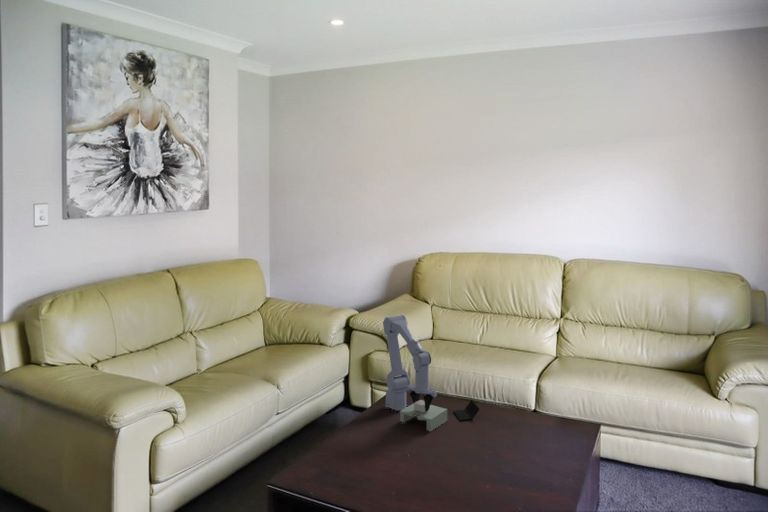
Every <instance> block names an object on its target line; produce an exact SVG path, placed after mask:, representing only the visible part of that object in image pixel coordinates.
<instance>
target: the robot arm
mask: <svg viewBox="0 0 768 512" xmlns="http://www.w3.org/2000/svg"><path fill="white" fill-rule="evenodd" d="M382 325H383V327H382V328H383V332H384V335H385V336H386V342H387V348H388V353H389V354H388V355H389V361H390V369H391V370H390V372H389V373H388V374H387V375H386V380H387V381H386V386H387V390H386V393H385V407H390V408H392V409H395V410H403V409H404V408H406V406H407V391H408V392H409V391H410V393H409V395H410V397H411V400H412V403H413V404H414V403H415V402H417V401H419V400H420V397H421V395H422V394H423V395H424V396H423V397H422V398H423V401H425V411H428V410H429V408H430V405H432V404H431V403H432V401H433V399H434V398H437V397H438V391H435V390H432V389H431V388H429V367H430V365H431V364H432V355H431V354H430V352H429V351H427V350H425V349H424V348H423V347H422V345H421V343H420V342H419V340H418V339H414V336H413V334H412V333H411V331H410V330H409V328H408V320H407V318H406V316H405V315H404V314H401V315H396V316H386V317H384V319H383V321H382ZM399 335H401V337H402V338H403V340H404V342H406V348H407V350H408V351H409V353H410V355H411V357H412V363H413V366H414V367H413V368H414V371H415V385H411V379H410V377H409V374H408V372H407V371H406V370H405V369H403V364H402V362H403V361H402V358H401V357H402V356H401V350H400V344H399V338H398V336H399Z"/></svg>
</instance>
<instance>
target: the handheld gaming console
mask: <svg viewBox="0 0 768 512" xmlns="http://www.w3.org/2000/svg"><path fill="white" fill-rule="evenodd" d="M479 411H480V407H478V405H477V404H476V402H475V401H473V400H470V401H469V402H468V404H467V405H466V407H465V408H464V409H459V410H458V409H457V410H453V411H452V412H454V413H453V415H454V416H455V417H456V416H457V417H456V418H457V419H458V420H459V422H471V420H472V421H473V419H474V418H475V417H476V415H477V413H478V412H479Z"/></svg>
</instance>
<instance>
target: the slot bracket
mask: <svg viewBox="0 0 768 512" xmlns="http://www.w3.org/2000/svg"><path fill="white" fill-rule="evenodd" d="M407 406H408V407H406V408H404V409H403V410H401V411H400V412H399V422H400V421H402V422H405V421H407V420H409V419H410V418H412V417H414V416H416V415H417V414H419V413H420V411H417V410H414V403H411V404H410V405H407ZM416 417H417V416H416ZM418 418H419V419H423V420H422V421H426V431H427V430H429V431H428V432H430V431H431V432H432V431H434V430H435V428H436V429H437V428H439V427H440V426H442V425H443V424H445V423H447V422H448V408H444V407H440V406H437V405H433V404H430V409H429V410H428V411H425V412H424V413H422V414H420V415H419V416H418ZM409 421H410V420H409ZM446 421H447V422H446ZM441 424H442V425H441ZM438 426H439V427H438ZM433 429H434V430H433Z"/></svg>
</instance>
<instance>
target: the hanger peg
mask: <svg viewBox="0 0 768 512" xmlns="http://www.w3.org/2000/svg"><path fill="white" fill-rule="evenodd" d="M413 404H414V410H417V411H420V414H422V413H424V412H425V401H424V399H419V401H417V402H415V403H414V402H413ZM429 409H430V408H429ZM420 414H419V415H420ZM419 415H417V416H416V419H417V420H419V421H424V420H423V419H419V418H418V416H419Z"/></svg>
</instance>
